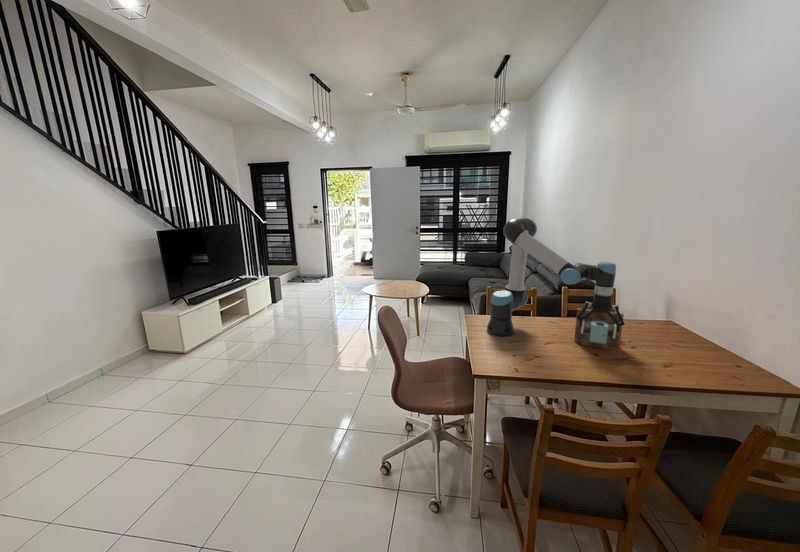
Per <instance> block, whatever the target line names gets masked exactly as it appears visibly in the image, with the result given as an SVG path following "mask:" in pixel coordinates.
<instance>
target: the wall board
mask: <svg viewBox="0 0 800 552" xmlns="http://www.w3.org/2000/svg"><path fill="white" fill-rule="evenodd" d="M581 309H582V308H581V307H580V308H578V307H577V309H576V315H577V314H578V313H579V312H580V311H581ZM590 310H591V309H586V310H585V311H584V313H583V314H582V315H581V316H580V317H582V316H583V315H584V314H586V313H587V312H588V311H590ZM610 312H611V313H612V314H613V316H614V317H615V318H616V319H617V321H618V322H620V320H619V317H618V315H617V313H616V312H615V311H613V312H612V311H610ZM620 315H621V317H622V319H623V320H624V313H621V312H620ZM575 319H576V318H575ZM592 319H598V320H606V322H607V323H608V334H607V342H606V344H602V343H595V342H590V339H589V336H590V328H591V321H592ZM579 323H580V320H579V319H576V320H575V327H574V330H575V331H574V337H573V341H574V342H575V343H580V345H581V346H588V347H594V348H601V349H605V350H606V349H607V350H612V351H613V349H614V348H615V349H620V345H621V337H622V329H623V325H621V326H620V327H619V332H616V335H615V339H614V338H613V331H614V324H616V323H615V322H614V321H613V320H612V318H611V317H610V316H609V315H608V314H607V313H597V312H596V311H595V312H594V313H592V314H591V315H589V316H588V317H587V318H585V319H584V328H583V334H582V333H581V328H582V327H581V326H579Z"/></svg>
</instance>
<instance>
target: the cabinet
mask: <svg viewBox="0 0 800 552" xmlns="http://www.w3.org/2000/svg"><path fill="white" fill-rule="evenodd" d="M607 334H608V323H607V322H606V320H598V319H592V321H591V328H590V336H589V339H590V342H595V343H602V344H606V342H607Z"/></svg>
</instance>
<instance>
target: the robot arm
mask: <svg viewBox="0 0 800 552" xmlns="http://www.w3.org/2000/svg"><path fill="white" fill-rule="evenodd" d="M537 231H538V226H537V224H536V222H535V221H534V220H533V219H531V218H527V217H520V218H512V219H510V220H507V222H506V223H505V224H504V226H503V231H502V232H503V236H504V237H505V238H506V240H508V241H509V243H511V244H512V246H511V247H512V248H511V256H510V258H511V259H510V266H509V276H508V283H507V284H506V285H505V286H504V290H497V291H494V292H492V294H491V297H490V318H489V321H488V323H487V325H486V331H488V332H489V334H490V333H491V334H490V335H492V334H494V335H493V336H496V335H497V336H498V337H509V335H510V336H512V334H513V335H514V334H515V327H514V324H513V320H512V315H513V312H514V311H516V310H519V309H522V308H523V307H525V305H526V304H527V302H528V300H529V296H528V293H527V291H526V290H527V289H526V287H525V285H524V284H525V277H526V269H527V259H528V254H529V255H531V256H532V257H533V258H535V259H536V260H538V261H539V262H540V263H541V264H543V265H545V266H546V267H547V268H549V269H550V270H551V271H553V272H554V273H555V274H557V275H558V276H559V277H560V280H561V282H562V283H564V284H565V285H570V286H571V285H575V284H578V283H580V282H581V281H585V280H586V281H587V280H588V281H592V282H593V281H594V282H595V284H594V290H593V292H594V294H593V299H592V302H589V301H587V300H586V301H585V303H584V305H583V306H582V308H580V309H581V311H580V312H579V313H578V314H577V313H576V317H575V319H579V320H580V323H579V326H581V327H582V328H581V333H582V334H583V328H584V319H585V318H587V317H588V316H589V315H591V314H592V313H594V312H595V311H596V312H597V313H607V314H608V315H609V316H610V317H611V318H612V320H613V321H614V322H615V323H616V324H614V331H613V338H614V339H615V335H616V332H619V327H620V326H621V325H622V326H625V322H624V318H623V319H622V317H621V315H620V313H621V312H620V310H619V305H618V304H615V305H614V304H613V305H612V301H613V296H612V295H613V292H614V286H615V285H614V284H615V279H616V274H617V272H616V270H617V265H616V264H615V263H614V262H609V261H608V262H607V261H599V262H597V265H594V264H593V265H592V264H586V263H580V262H573V263H570V262H569V261H568V260H566V259H565V258H563V257H562V256H560V255H559V254H558V253H556V252H555V251H553V250H552V249H550V248H549V247H548V246H546V245H545V244H543V243H542V242H541V241H539V240H537V238H535V237H534V236H535V235H536V234H537ZM590 306H591V307H592V308H591V309H589V310H590V311H588V312H587V313H586V314H584V315H583V316H582V317H580V316H581V315H582V314H583V313H584V311H585V310H586V309H587V308H589V307H590ZM611 309H613V310H614V311H615V313H617V315H618V317H619V320H620V322H618V321H617V319H616V318H615V317H614V316H613V314H612V313H611V312H612V311H610V310H611ZM488 332H487V333H488Z"/></svg>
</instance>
